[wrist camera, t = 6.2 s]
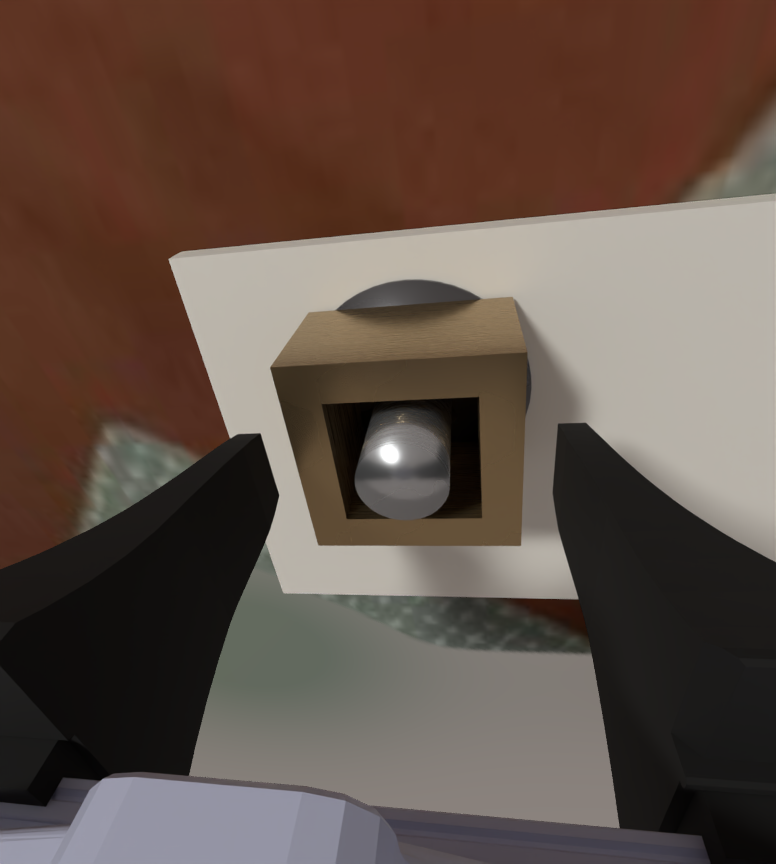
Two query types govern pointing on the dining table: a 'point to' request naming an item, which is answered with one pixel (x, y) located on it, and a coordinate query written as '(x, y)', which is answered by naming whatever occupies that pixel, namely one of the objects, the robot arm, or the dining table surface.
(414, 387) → the bronze collar
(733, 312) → the pale board
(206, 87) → the dining table surface
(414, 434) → the steel post
